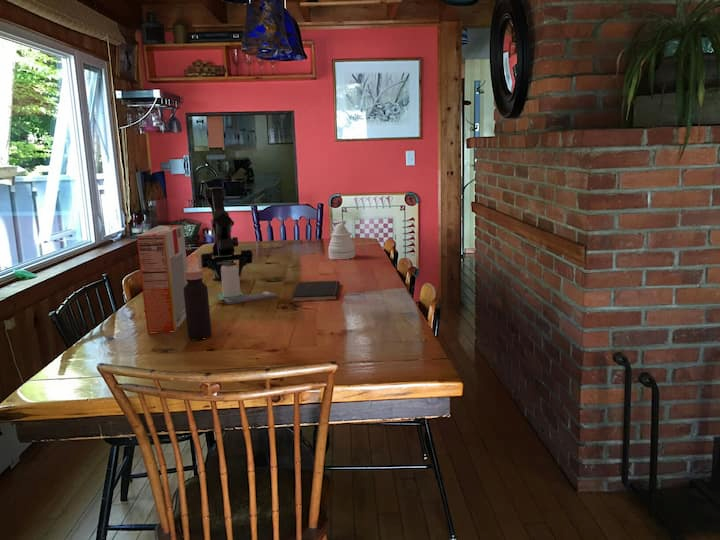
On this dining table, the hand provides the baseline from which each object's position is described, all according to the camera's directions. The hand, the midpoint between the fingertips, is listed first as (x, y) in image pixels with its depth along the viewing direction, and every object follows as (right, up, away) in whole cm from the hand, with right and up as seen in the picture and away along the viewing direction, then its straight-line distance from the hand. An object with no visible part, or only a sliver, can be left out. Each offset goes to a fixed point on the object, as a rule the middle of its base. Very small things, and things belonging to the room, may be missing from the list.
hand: (229, 277), depth 221 cm
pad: (0, -7, +3) cm, 8 cm away
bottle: (+1, -17, -44) cm, 47 cm away
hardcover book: (+32, -7, +4) cm, 33 cm away
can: (0, -7, +3) cm, 8 cm away
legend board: (+8, -8, -1) cm, 11 cm away
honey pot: (+39, +9, +73) cm, 83 cm away
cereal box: (-13, -14, -27) cm, 33 cm away
